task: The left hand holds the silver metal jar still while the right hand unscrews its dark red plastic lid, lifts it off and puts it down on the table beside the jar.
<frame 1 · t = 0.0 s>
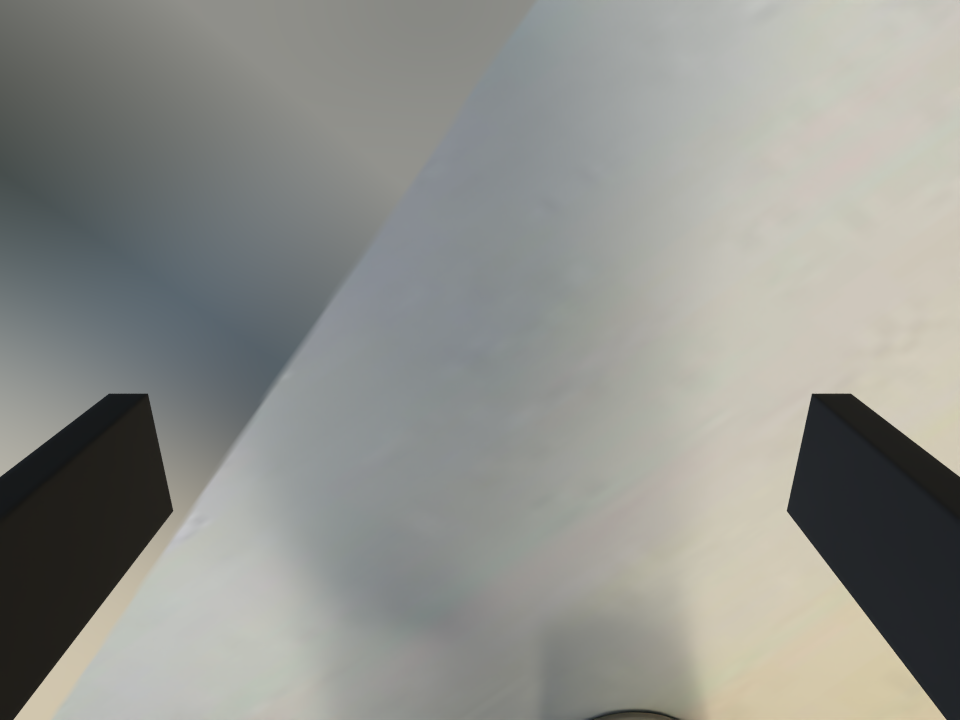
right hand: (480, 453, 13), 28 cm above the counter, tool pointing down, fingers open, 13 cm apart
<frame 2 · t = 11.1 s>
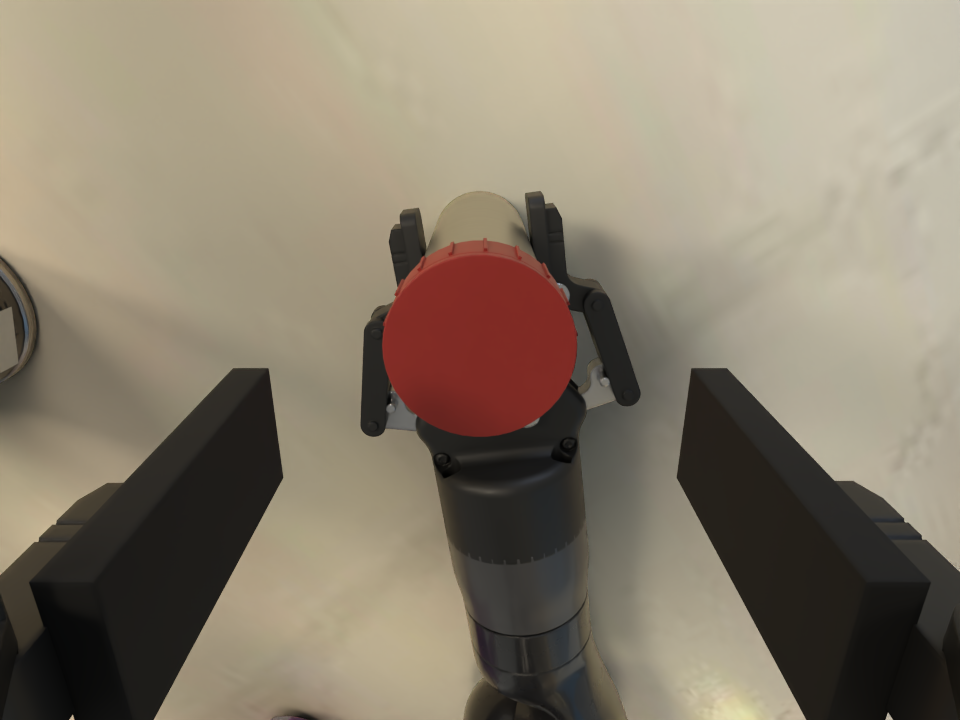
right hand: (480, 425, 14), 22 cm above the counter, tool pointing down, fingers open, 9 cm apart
left hand: (471, 204, 28), fingers closed on jar, 5 cm apart
jar: (479, 237, 34), on the counter, touching left hand
lid: (479, 347, 18), point 17 cm above the counter, screwed on, not yet turned
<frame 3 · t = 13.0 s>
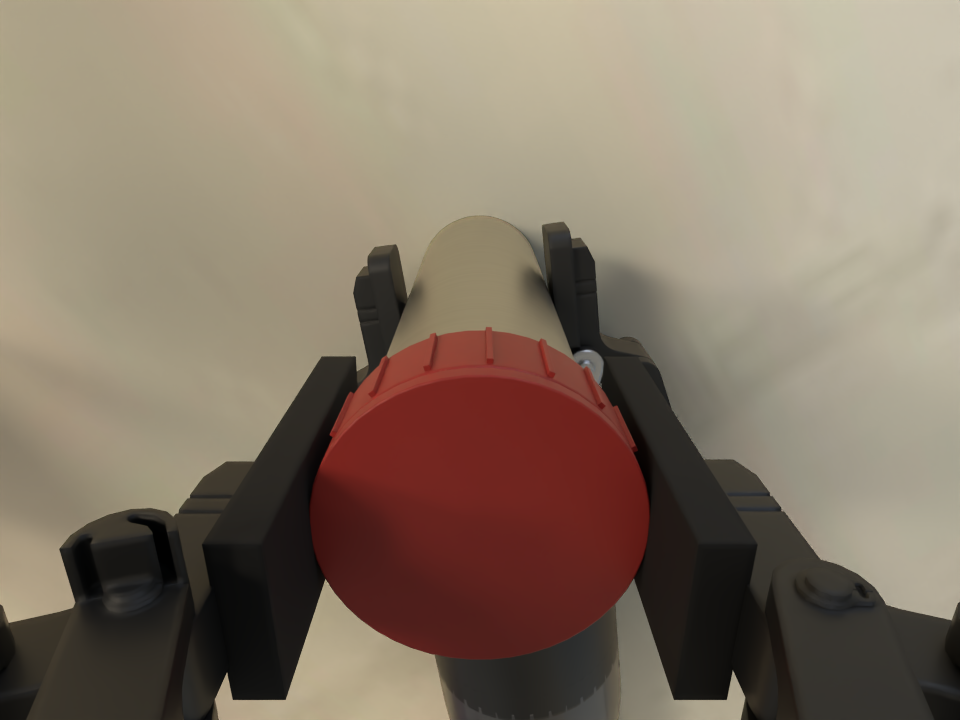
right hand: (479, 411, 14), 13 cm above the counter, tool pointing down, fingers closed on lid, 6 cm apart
jar: (479, 273, 27), on the counter, touching left hand
lid: (479, 519, 11), point 17 cm above the counter, screwed on, not yet turned, touching right hand
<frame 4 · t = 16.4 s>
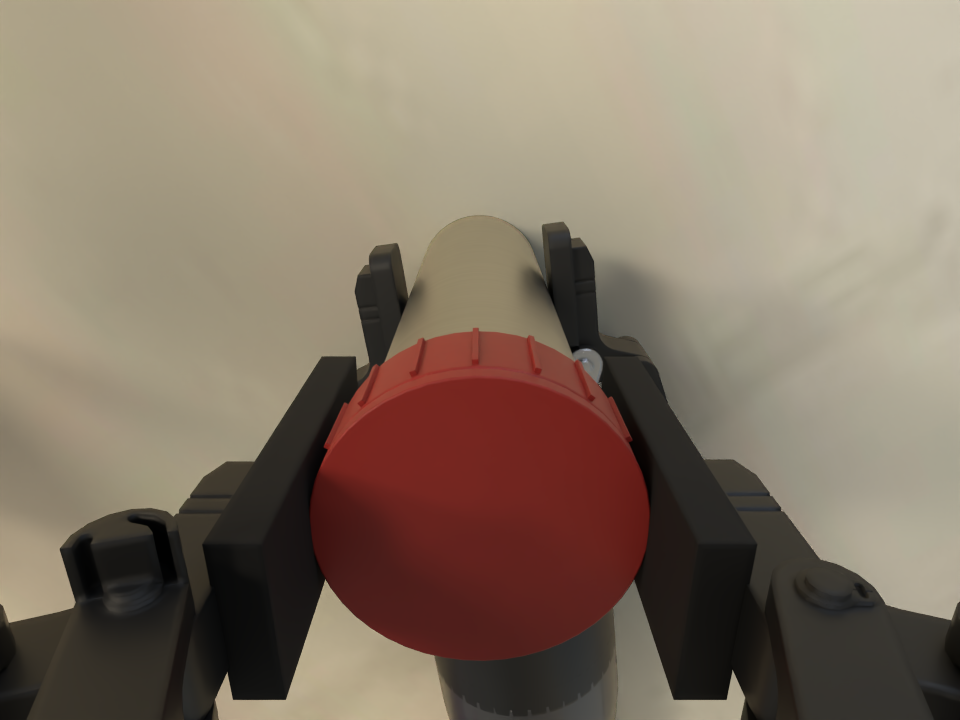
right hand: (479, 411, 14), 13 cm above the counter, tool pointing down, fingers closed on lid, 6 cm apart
jar: (479, 273, 27), on the counter, touching left hand
lid: (479, 520, 11), point 17 cm above the counter, turned 125° so far, risen 0.2 cm, still on its thread, touching right hand
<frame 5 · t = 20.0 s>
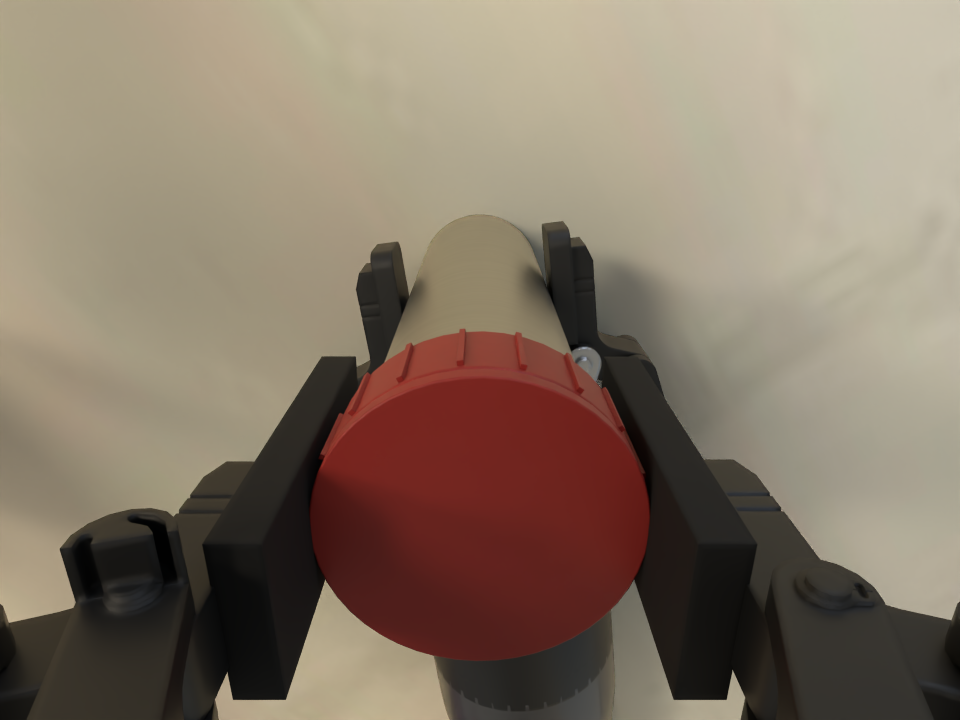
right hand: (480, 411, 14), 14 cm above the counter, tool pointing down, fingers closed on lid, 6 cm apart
jar: (479, 271, 27), on the counter, touching left hand
lid: (479, 520, 11), point 18 cm above the counter, turned 250° so far, risen 0.4 cm, still on its thread, touching right hand
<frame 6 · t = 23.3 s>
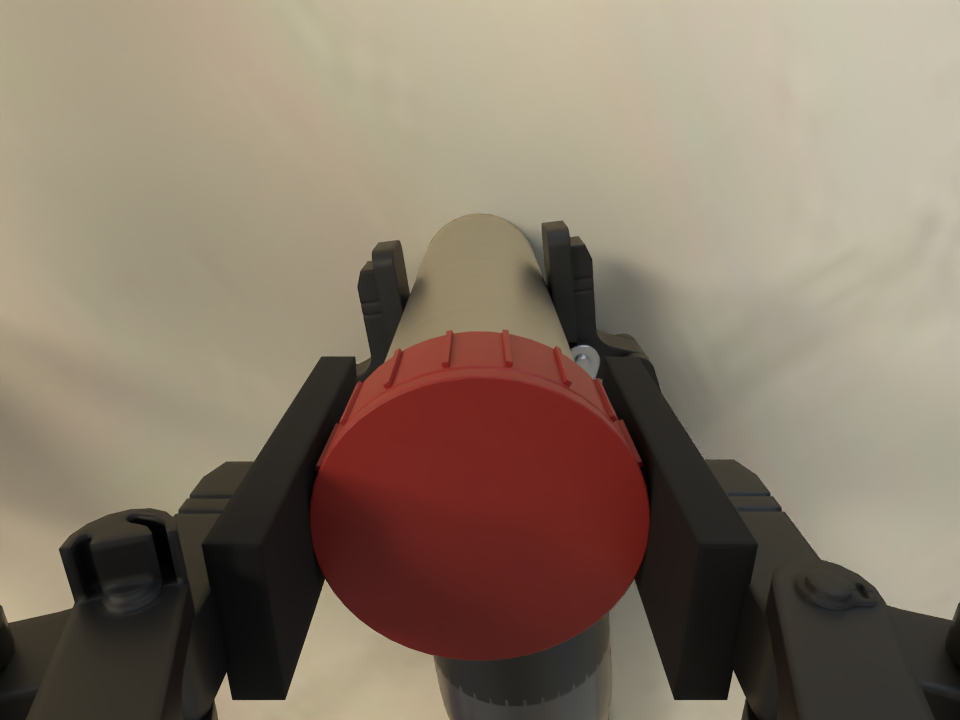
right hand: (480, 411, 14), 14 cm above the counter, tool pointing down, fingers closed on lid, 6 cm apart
jar: (479, 270, 27), on the counter, touching left hand
lid: (479, 520, 11), point 18 cm above the counter, turned 375° so far, risen 0.6 cm, still on its thread, touching right hand
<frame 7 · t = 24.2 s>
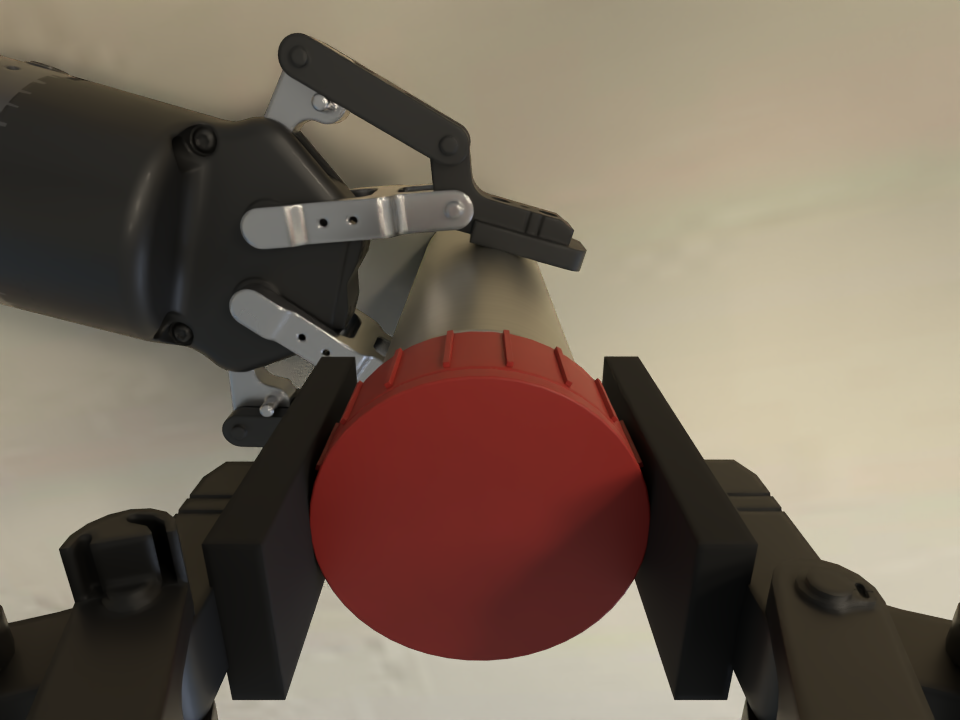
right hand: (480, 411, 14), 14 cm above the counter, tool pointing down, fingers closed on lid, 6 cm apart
left hand: (551, 330, 22), fingers closed on jar, 5 cm apart
jar: (479, 269, 27), on the counter, touching left hand
lid: (479, 520, 11), point 18 cm above the counter, off its thread, touching right hand
when the right hand's fingers open (0 cm above the counter, at t = 29.4 s): lid drops 2 cm, point 2 cm above the counter.
when the left hand's fingers open (6 cm above the counter, at t = 30.5 s): jar stays where it is, on the counter.
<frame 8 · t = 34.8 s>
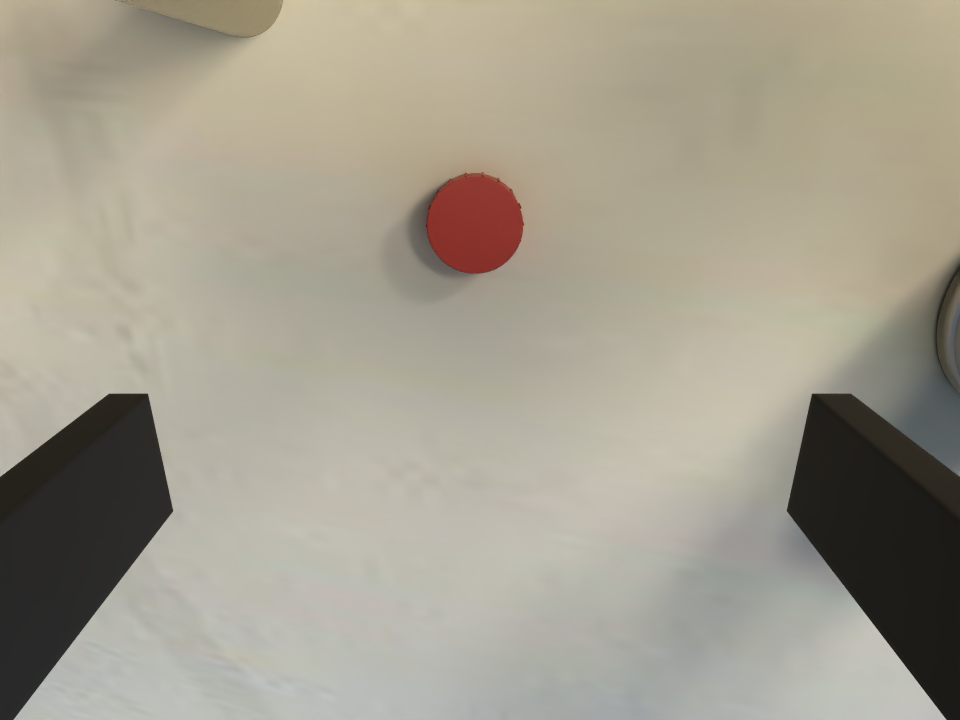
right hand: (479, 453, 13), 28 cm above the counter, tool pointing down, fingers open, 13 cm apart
lid: (475, 225, 37), point 2 cm above the counter, off its thread
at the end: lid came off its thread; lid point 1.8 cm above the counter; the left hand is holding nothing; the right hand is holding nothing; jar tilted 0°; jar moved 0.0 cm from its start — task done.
